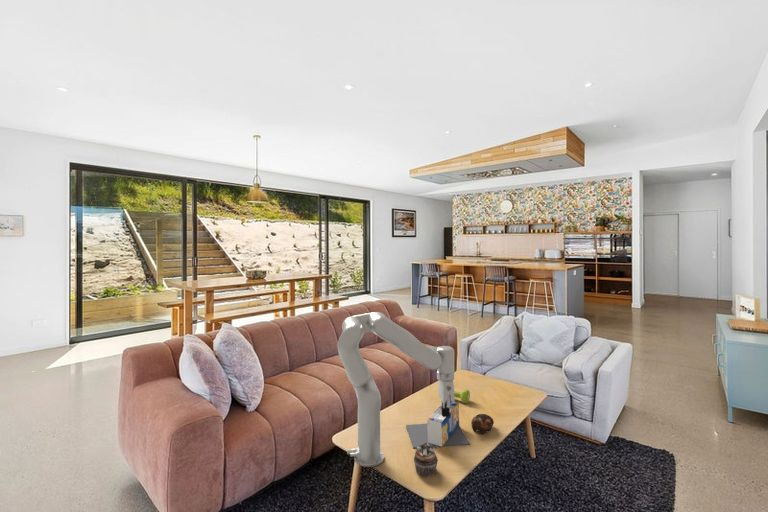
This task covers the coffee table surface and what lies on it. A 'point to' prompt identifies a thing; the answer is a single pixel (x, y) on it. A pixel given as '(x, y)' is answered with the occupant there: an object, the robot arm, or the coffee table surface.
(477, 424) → the decorative turtle
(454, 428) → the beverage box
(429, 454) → the cupcake
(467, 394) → the dumbbell
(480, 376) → the coffee table surface
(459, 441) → the mat
